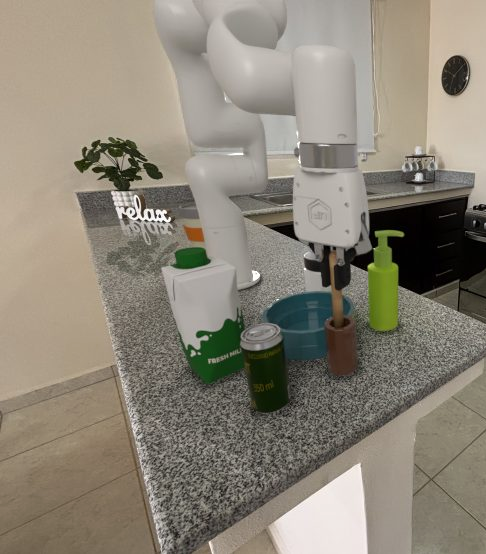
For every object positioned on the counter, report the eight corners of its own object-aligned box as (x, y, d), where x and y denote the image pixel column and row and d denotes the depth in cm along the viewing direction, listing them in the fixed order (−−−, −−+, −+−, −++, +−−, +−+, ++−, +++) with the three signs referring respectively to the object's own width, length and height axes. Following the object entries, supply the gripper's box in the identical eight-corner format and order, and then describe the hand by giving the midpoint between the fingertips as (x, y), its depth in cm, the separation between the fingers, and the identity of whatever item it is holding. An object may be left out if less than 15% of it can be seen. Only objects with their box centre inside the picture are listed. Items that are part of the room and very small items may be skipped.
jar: (313, 315, 75) (308, 263, 71) (302, 301, 82) (296, 252, 77) (351, 306, 80) (349, 256, 75) (338, 293, 86) (335, 246, 82)
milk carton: (235, 346, 64) (214, 241, 56) (260, 366, 59) (240, 254, 51) (182, 368, 58) (150, 254, 50) (204, 393, 52) (172, 269, 45)
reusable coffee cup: (241, 249, 117) (233, 204, 111) (207, 260, 106) (196, 211, 100) (214, 244, 121) (206, 200, 115) (179, 254, 111) (168, 206, 105)
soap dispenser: (404, 331, 70) (406, 235, 63) (370, 334, 69) (367, 236, 61) (400, 317, 75) (401, 227, 68) (368, 319, 74) (365, 228, 67)
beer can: (288, 386, 54) (278, 319, 50) (295, 409, 50) (285, 337, 45) (250, 397, 52) (237, 327, 47) (254, 422, 47) (240, 347, 43)
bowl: (246, 348, 63) (240, 319, 61) (305, 310, 78) (302, 285, 75) (321, 372, 58) (318, 341, 55) (370, 326, 72) (370, 300, 69)
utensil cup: (322, 373, 57) (318, 326, 54) (339, 357, 62) (336, 312, 58) (347, 381, 56) (344, 333, 52) (362, 364, 60) (361, 318, 56)
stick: (332, 339, 56) (326, 251, 50) (338, 334, 58) (332, 248, 52) (340, 342, 56) (335, 253, 50) (346, 337, 57) (342, 250, 51)
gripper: (261, 156, 45) (278, 285, 53) (366, 164, 40) (369, 306, 47) (300, 153, 52) (310, 268, 59) (395, 160, 46) (393, 286, 53)
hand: (336, 284), depth 53 cm, fingers closed on stick, 1 cm apart
